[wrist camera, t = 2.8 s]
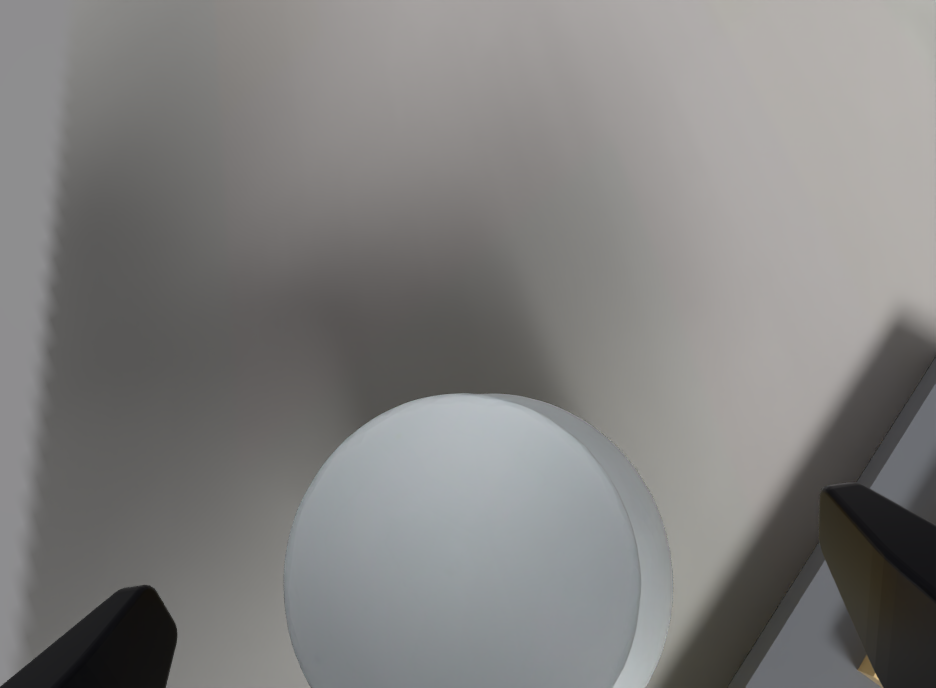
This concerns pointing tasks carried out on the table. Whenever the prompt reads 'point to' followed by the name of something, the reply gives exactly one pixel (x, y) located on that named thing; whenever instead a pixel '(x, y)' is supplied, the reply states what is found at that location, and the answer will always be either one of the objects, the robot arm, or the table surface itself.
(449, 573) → the supplement bottle
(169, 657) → the robot arm
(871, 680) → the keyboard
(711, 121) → the table surface
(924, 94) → the table surface
